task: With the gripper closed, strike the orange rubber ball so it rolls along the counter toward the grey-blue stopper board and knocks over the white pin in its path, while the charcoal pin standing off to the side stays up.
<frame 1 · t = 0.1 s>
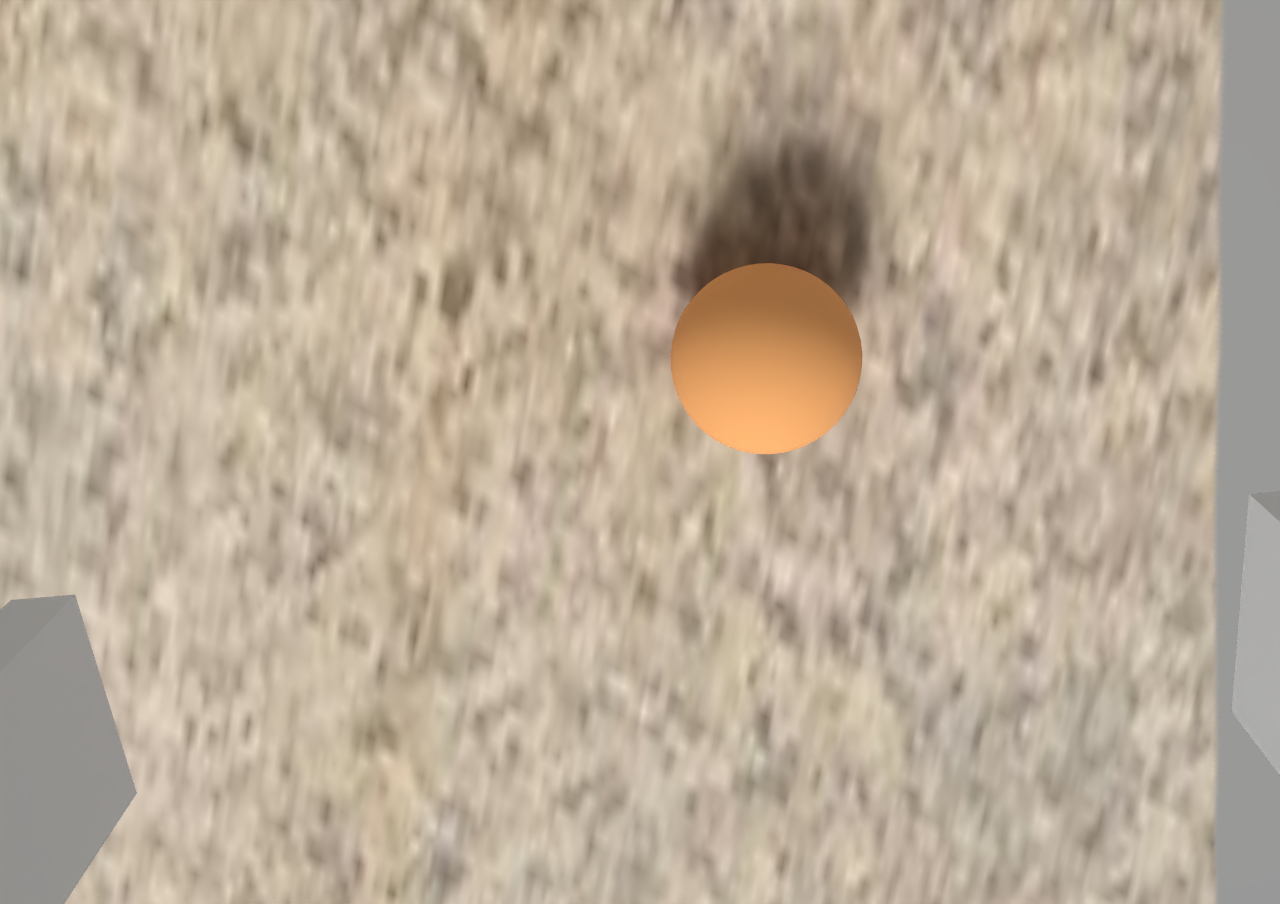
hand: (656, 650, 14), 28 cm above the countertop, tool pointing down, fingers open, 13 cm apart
ball: (765, 359, 39), on the countertop
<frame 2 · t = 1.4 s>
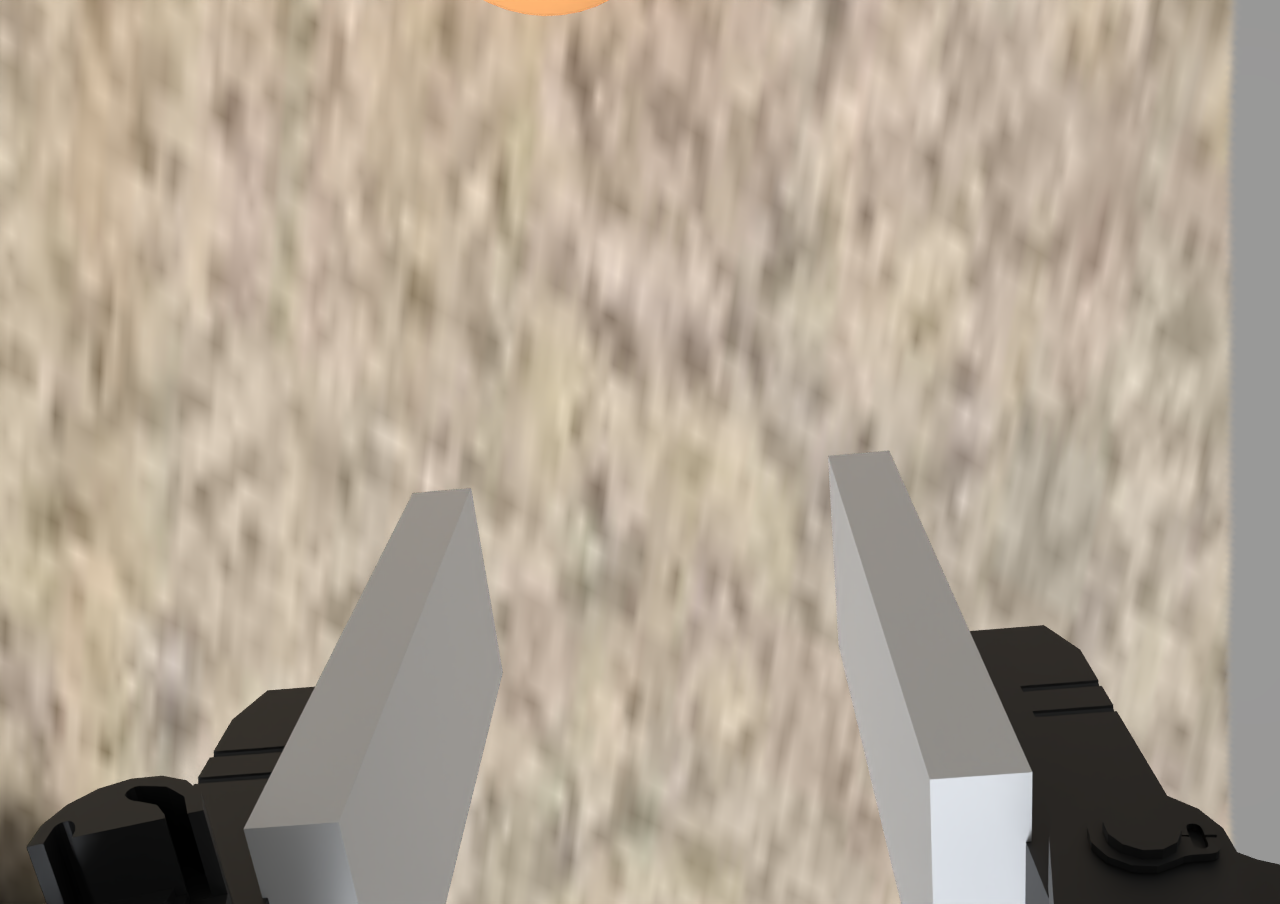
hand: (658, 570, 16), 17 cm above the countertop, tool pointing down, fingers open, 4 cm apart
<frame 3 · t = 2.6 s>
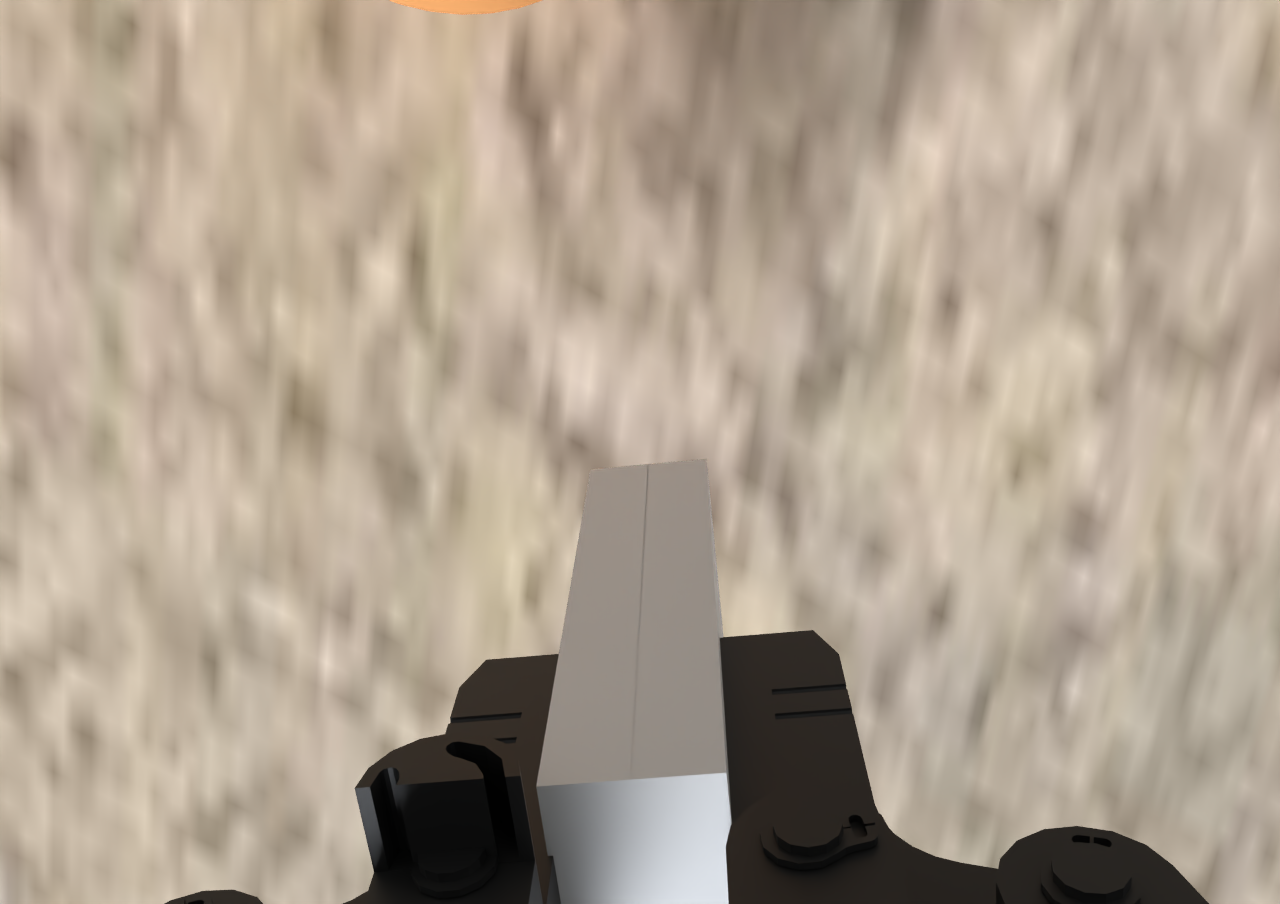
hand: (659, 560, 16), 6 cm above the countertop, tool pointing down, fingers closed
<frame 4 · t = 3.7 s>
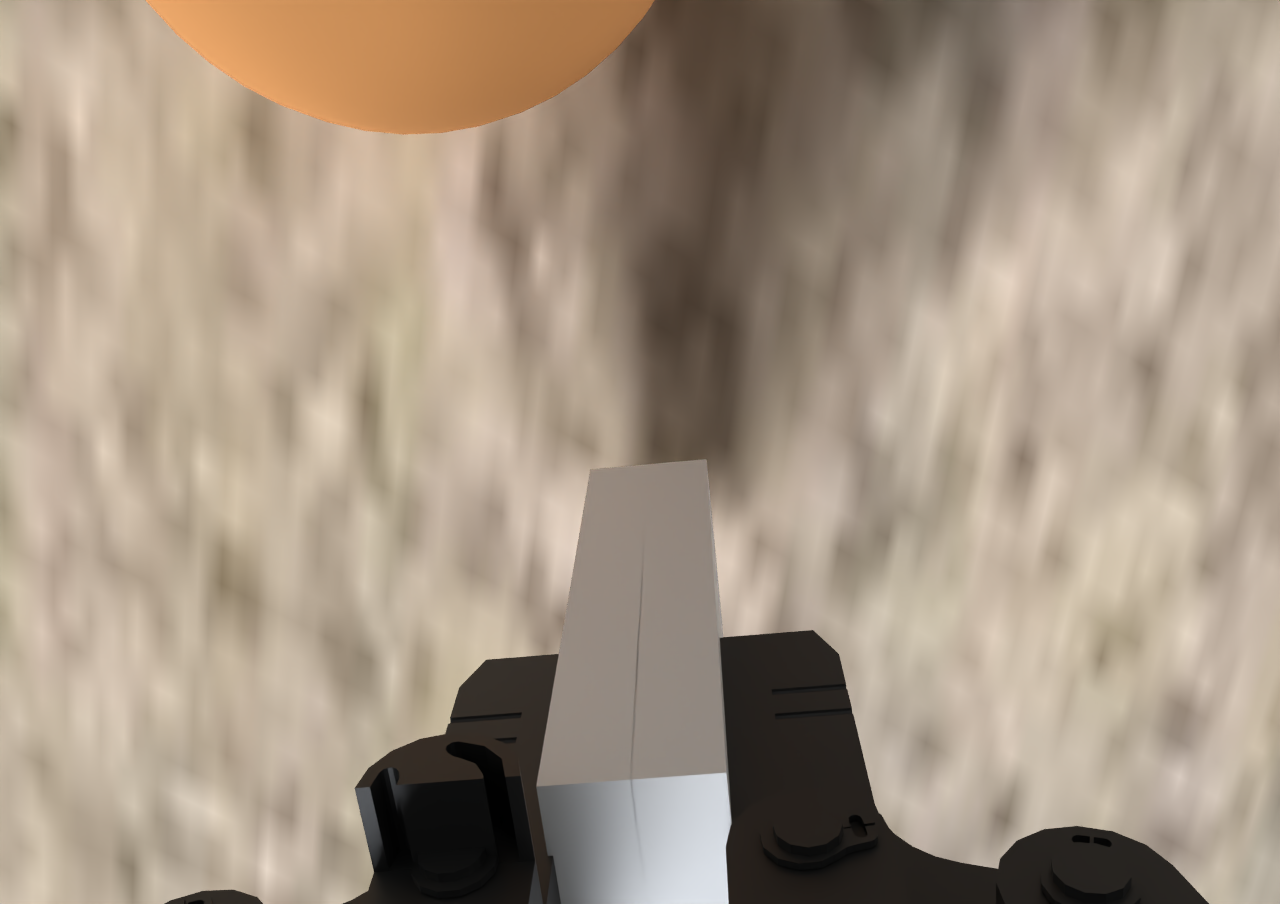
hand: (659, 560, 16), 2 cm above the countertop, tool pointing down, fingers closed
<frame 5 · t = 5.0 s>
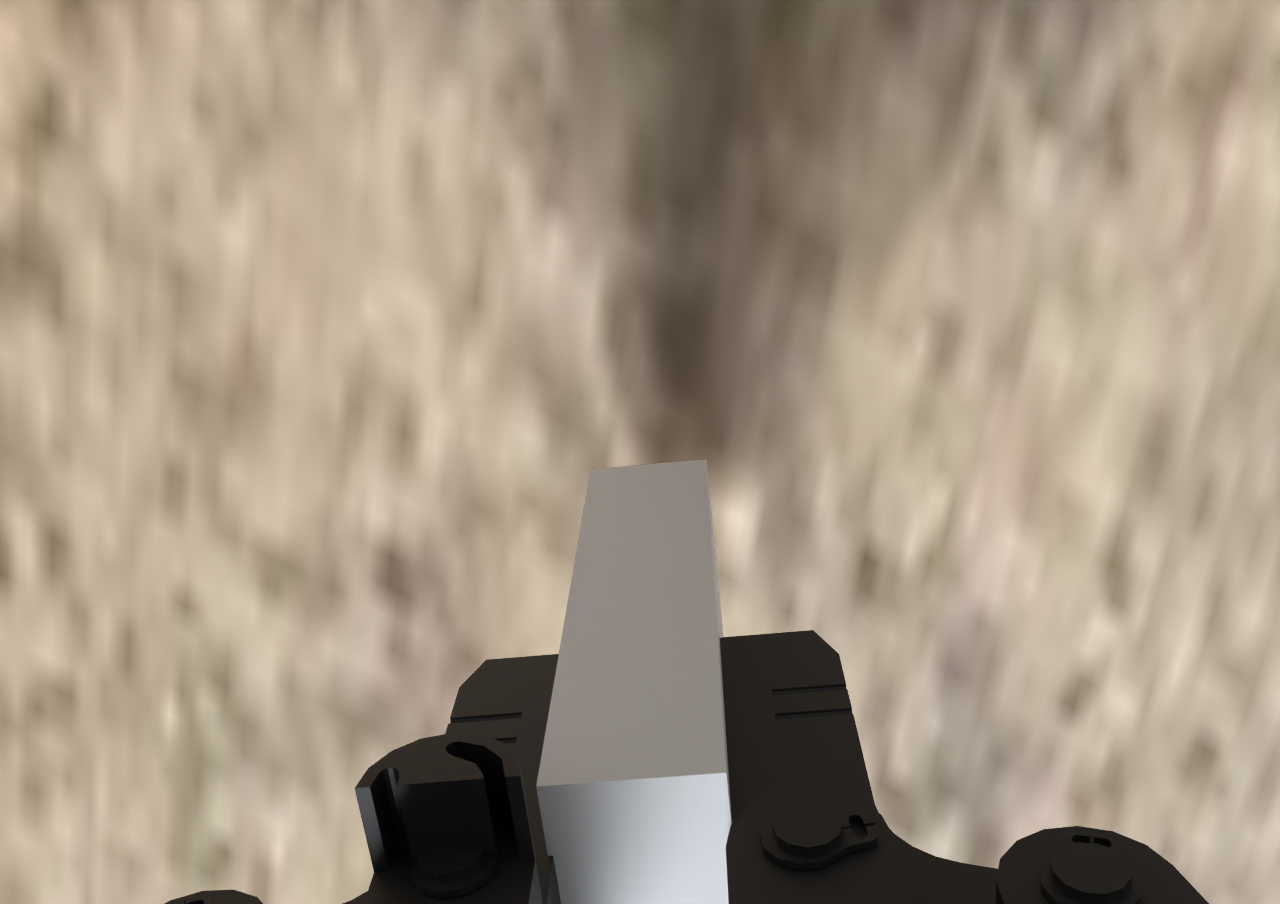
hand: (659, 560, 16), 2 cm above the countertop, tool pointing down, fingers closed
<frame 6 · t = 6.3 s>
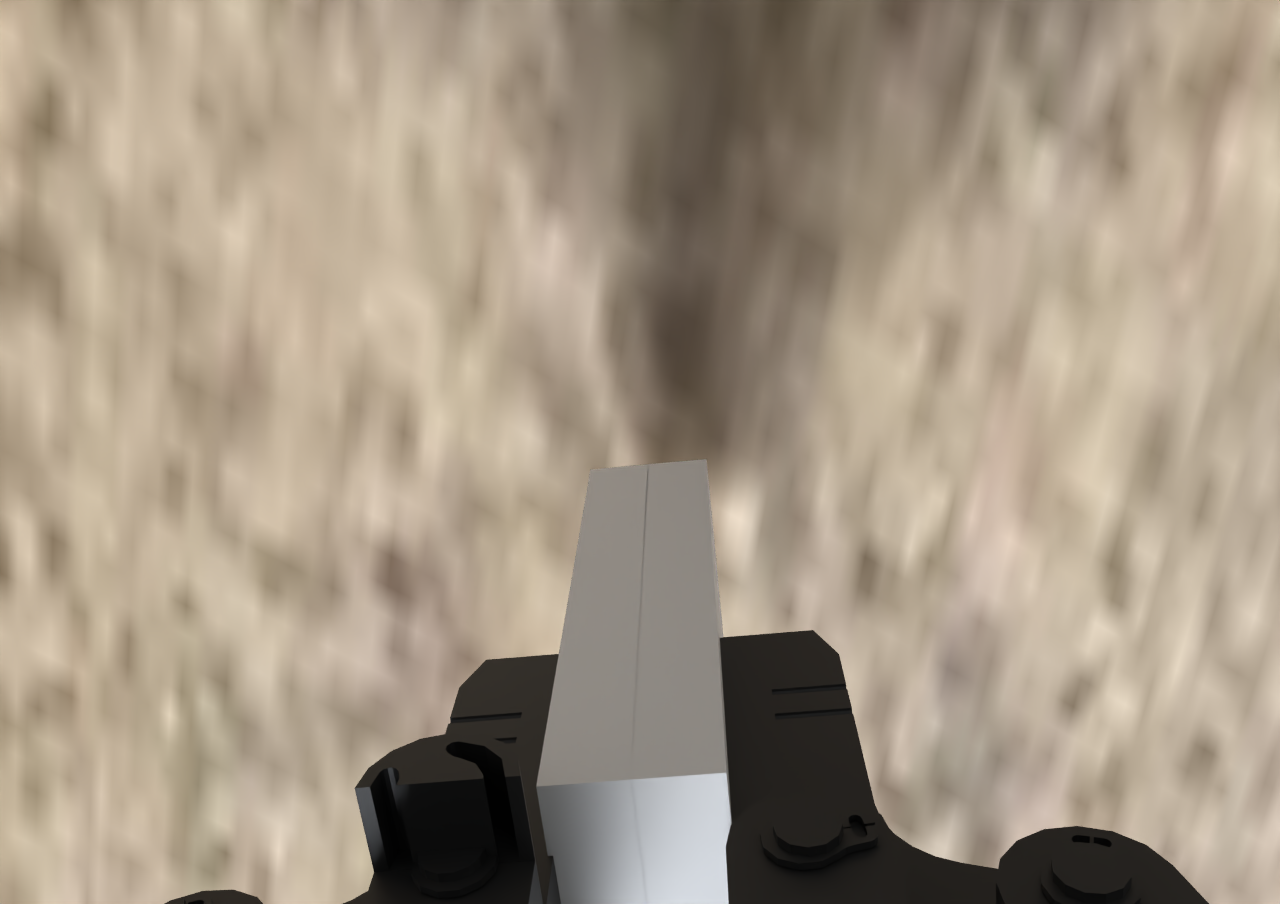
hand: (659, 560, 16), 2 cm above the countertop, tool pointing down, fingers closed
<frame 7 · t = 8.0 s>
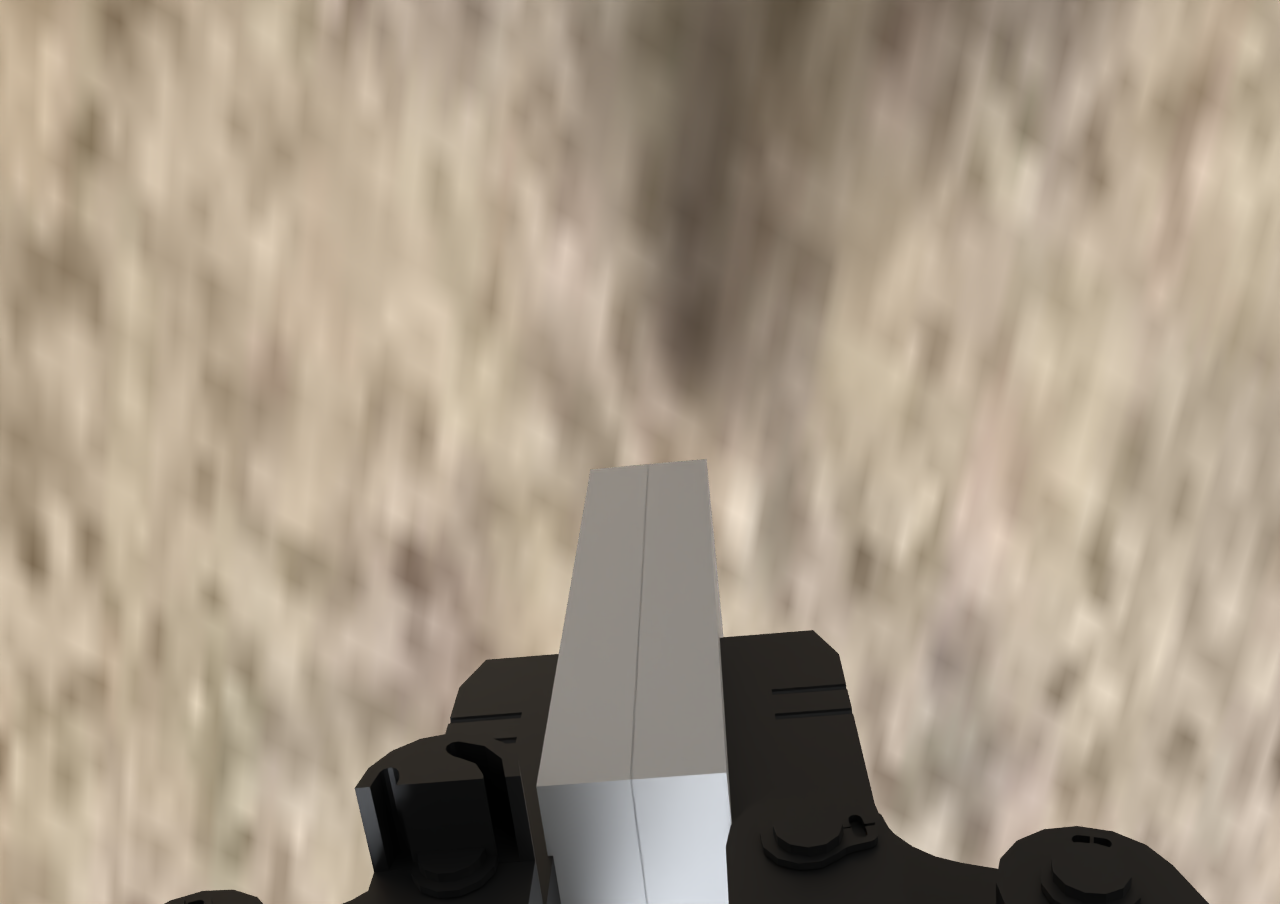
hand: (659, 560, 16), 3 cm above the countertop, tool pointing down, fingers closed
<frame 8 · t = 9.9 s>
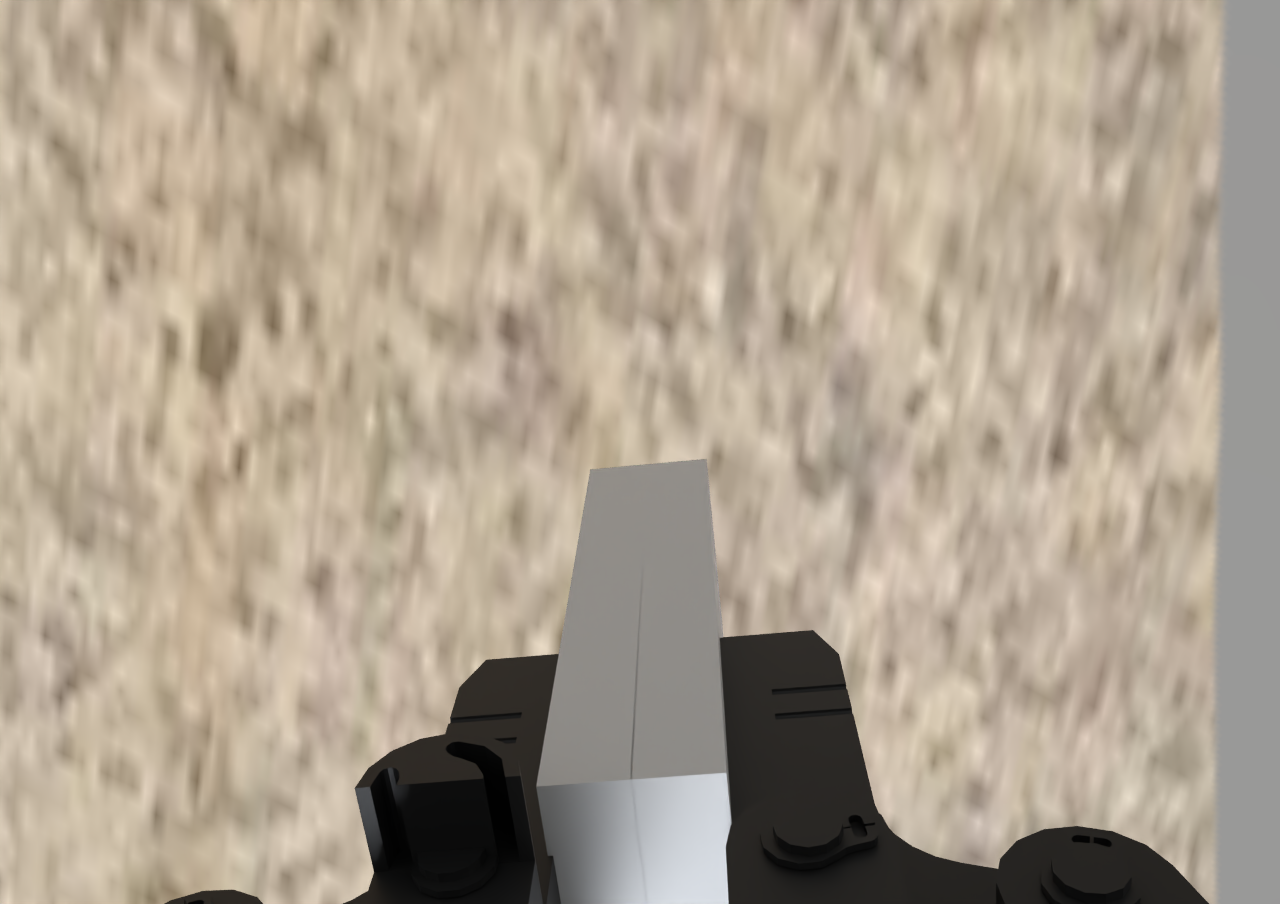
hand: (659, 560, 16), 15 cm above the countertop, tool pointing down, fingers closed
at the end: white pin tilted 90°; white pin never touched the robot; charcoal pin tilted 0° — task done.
